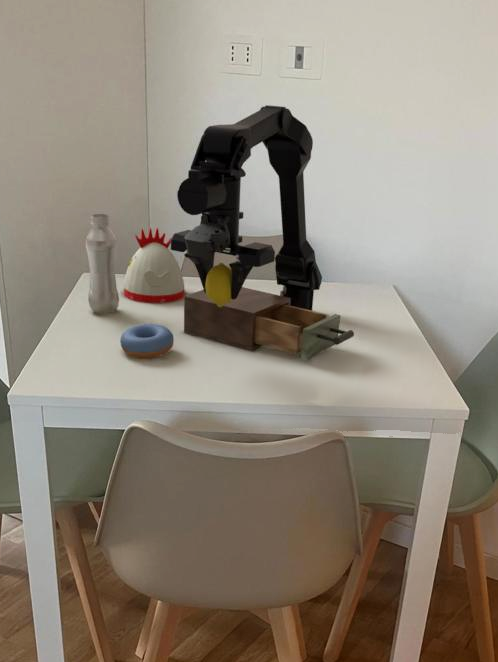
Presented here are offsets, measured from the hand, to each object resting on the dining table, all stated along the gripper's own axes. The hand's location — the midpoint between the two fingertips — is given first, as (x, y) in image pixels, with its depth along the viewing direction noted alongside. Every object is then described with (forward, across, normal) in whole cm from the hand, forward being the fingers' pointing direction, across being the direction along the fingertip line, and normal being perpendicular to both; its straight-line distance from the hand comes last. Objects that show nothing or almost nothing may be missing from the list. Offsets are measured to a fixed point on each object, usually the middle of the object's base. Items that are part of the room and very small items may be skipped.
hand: (220, 296), depth 145 cm
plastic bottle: (+12, -35, +8) cm, 38 cm away
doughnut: (+12, -12, -6) cm, 18 cm away
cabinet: (+12, -5, +14) cm, 19 cm away
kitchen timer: (+12, -35, +26) cm, 45 cm away
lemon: (+2, 0, 0) cm, 2 cm away
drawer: (+11, +10, +14) cm, 20 cm away
